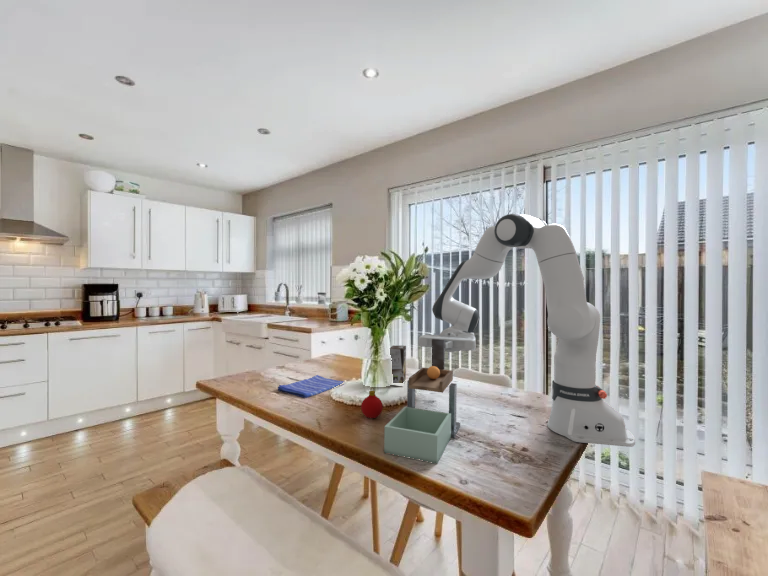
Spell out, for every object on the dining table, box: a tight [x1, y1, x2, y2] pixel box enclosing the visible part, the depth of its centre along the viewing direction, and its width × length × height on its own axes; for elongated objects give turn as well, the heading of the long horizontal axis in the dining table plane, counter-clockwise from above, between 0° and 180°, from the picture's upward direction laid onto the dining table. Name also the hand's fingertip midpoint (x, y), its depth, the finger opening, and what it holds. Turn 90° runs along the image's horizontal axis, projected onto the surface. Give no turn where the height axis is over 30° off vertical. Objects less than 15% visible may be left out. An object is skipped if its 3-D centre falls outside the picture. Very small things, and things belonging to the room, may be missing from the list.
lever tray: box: [408, 339, 454, 394], centre depth 108 cm, size 10×15×12 cm, turn 157°
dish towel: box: [277, 374, 344, 399], centre depth 149 cm, size 17×24×3 cm
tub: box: [383, 406, 452, 464], centre depth 97 cm, size 14×16×7 cm
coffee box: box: [389, 345, 407, 383], centre depth 155 cm, size 9×6×16 cm
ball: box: [427, 365, 440, 379], centre depth 110 cm, size 4×4×4 cm
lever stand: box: [406, 379, 461, 439], centre depth 108 cm, size 16×9×14 cm, turn 67°
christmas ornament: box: [360, 387, 384, 419], centre depth 116 cm, size 7×7×10 cm
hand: (442, 345), depth 120 cm, fingers closed
